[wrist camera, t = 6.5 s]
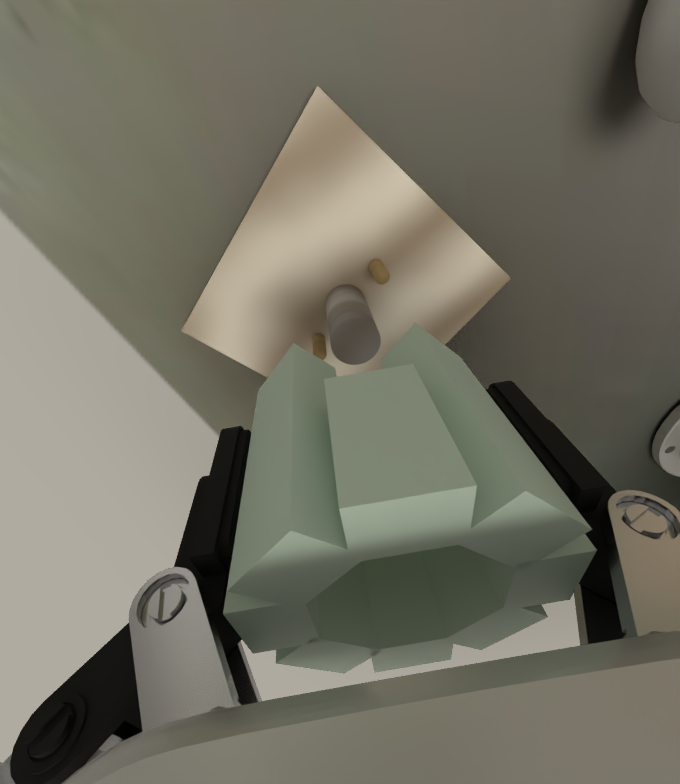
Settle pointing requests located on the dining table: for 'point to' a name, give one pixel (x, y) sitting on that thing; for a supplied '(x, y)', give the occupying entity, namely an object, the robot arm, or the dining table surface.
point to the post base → (339, 258)
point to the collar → (393, 516)
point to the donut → (660, 58)
